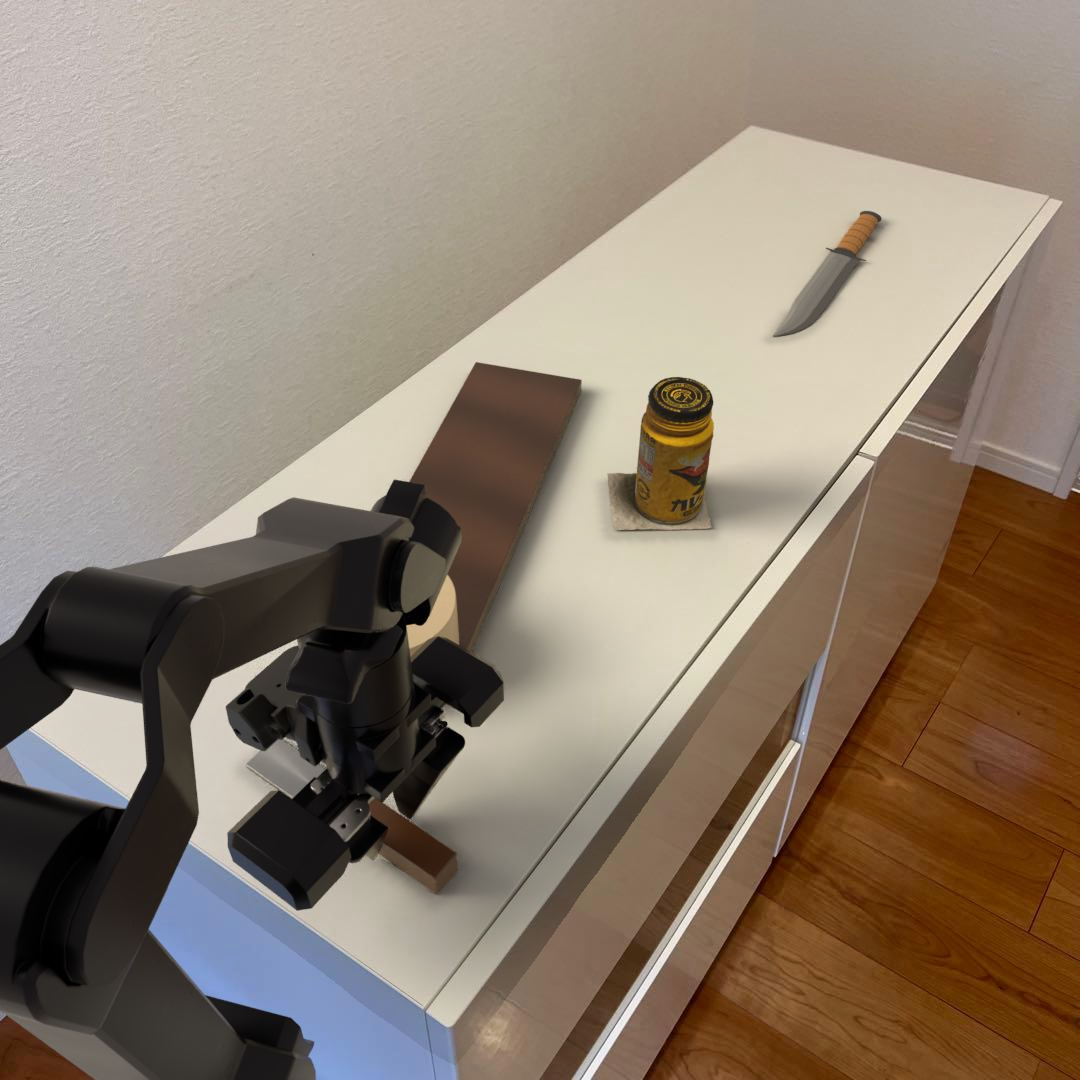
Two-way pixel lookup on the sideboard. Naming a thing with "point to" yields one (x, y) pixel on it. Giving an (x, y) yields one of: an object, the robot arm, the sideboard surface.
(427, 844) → the cake knife
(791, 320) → the knife
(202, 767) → the sideboard surface
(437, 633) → the cake
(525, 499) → the serving board
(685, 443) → the condiment
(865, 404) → the sideboard surface
